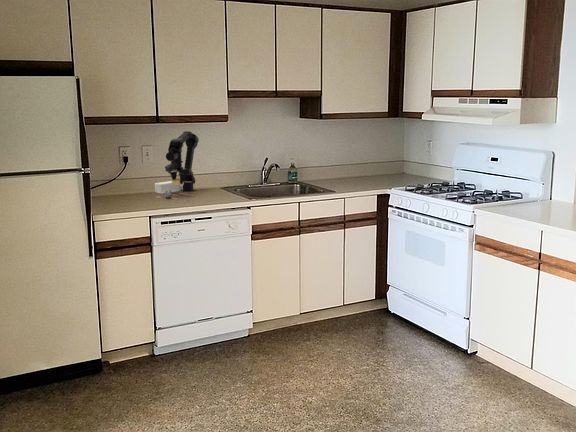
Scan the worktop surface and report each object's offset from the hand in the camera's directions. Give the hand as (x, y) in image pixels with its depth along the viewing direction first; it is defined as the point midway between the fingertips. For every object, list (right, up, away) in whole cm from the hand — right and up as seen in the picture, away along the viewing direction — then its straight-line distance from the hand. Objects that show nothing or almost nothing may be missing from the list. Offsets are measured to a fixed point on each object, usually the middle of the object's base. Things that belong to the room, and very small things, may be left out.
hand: (177, 183), depth 376 cm
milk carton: (-15, -3, +8) cm, 17 cm away
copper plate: (-1, -10, -4) cm, 10 cm away
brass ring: (0, -1, 0) cm, 1 cm away
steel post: (-4, -11, -11) cm, 16 cm away
